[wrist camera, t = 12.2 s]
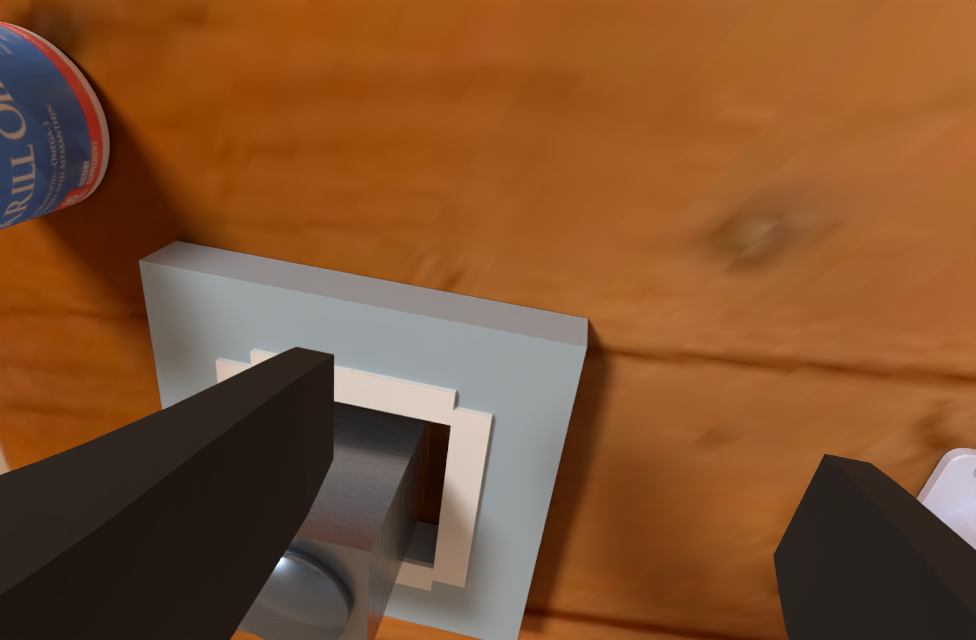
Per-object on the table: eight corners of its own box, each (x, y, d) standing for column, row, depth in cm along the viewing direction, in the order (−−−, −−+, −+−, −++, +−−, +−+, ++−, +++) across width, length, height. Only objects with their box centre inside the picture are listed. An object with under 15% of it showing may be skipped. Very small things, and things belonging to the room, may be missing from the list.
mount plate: (588, 318, 18) (587, 350, 16) (521, 606, 24) (514, 652, 23) (176, 240, 19) (134, 262, 18) (213, 534, 26) (184, 572, 24)
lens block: (433, 404, 21) (364, 564, 15) (425, 499, 23) (361, 674, 17) (310, 380, 21) (193, 526, 15) (313, 476, 23) (211, 638, 17)
